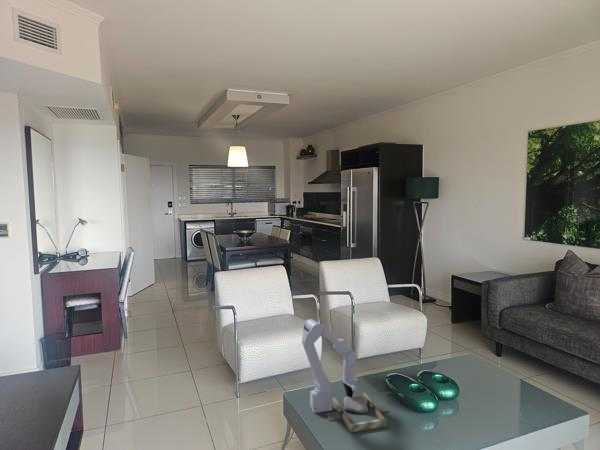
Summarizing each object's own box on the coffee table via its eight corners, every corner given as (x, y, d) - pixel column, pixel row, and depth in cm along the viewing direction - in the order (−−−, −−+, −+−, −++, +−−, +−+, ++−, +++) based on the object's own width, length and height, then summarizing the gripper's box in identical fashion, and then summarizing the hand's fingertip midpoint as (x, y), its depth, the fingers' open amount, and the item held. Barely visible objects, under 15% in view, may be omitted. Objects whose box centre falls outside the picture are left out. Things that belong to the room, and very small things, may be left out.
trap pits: (329, 421, 181) (329, 420, 181) (325, 414, 187) (325, 413, 187) (389, 411, 187) (389, 410, 187) (384, 405, 193) (384, 404, 193)
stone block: (368, 417, 187) (367, 402, 196) (368, 408, 186) (366, 393, 195) (343, 417, 188) (343, 402, 198) (343, 409, 187) (342, 394, 196)
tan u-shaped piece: (350, 432, 172) (350, 425, 172) (332, 402, 197) (332, 396, 197) (386, 426, 176) (386, 419, 176) (365, 397, 201) (365, 391, 200)
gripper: (362, 377, 191) (362, 404, 192) (351, 364, 205) (352, 389, 206) (348, 379, 189) (348, 406, 191) (338, 366, 203) (339, 391, 205)
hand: (349, 397), depth 198 cm, fingers closed
